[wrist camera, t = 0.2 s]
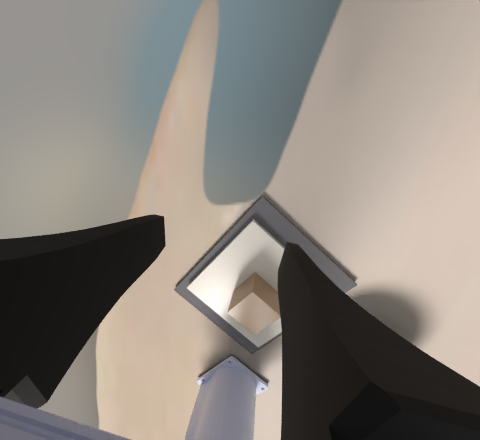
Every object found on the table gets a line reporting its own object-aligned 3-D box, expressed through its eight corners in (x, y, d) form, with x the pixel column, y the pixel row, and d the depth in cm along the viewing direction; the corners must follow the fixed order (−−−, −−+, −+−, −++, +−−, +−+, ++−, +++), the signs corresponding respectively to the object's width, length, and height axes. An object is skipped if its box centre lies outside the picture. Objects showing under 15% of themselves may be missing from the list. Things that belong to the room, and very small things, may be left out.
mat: (252, 350, 26) (251, 354, 25) (175, 287, 25) (173, 289, 24) (355, 282, 20) (357, 284, 20) (262, 195, 19) (262, 196, 19)
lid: (258, 342, 25) (256, 376, 20) (189, 284, 24) (172, 308, 19) (333, 291, 20) (349, 322, 16) (253, 218, 19) (249, 232, 15)
